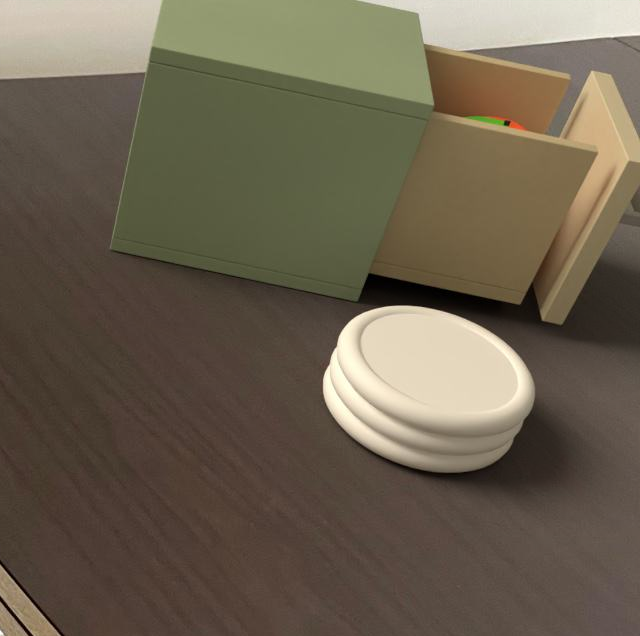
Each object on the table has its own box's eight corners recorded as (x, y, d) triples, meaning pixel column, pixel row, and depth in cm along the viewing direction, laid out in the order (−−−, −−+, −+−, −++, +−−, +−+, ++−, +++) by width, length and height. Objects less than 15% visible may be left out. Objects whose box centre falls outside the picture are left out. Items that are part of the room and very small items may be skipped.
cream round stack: (450, 351, 65) (476, 297, 62) (545, 471, 59) (578, 416, 56) (289, 359, 62) (309, 303, 59) (370, 485, 56) (397, 429, 53)
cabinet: (351, 197, 76) (418, 12, 67) (357, 302, 67) (435, 105, 58) (132, 151, 76) (171, -40, 67) (109, 250, 67) (151, 45, 59)
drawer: (590, 238, 74) (672, 87, 67) (623, 338, 67) (720, 179, 59) (329, 183, 74) (383, 26, 67) (331, 276, 67) (393, 110, 60)
